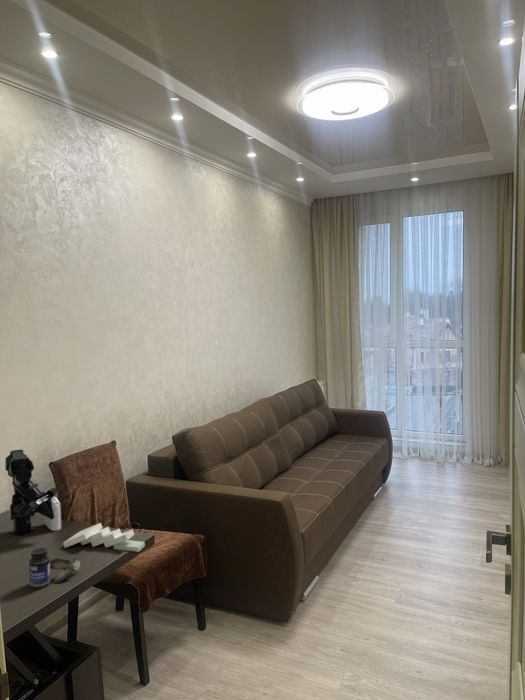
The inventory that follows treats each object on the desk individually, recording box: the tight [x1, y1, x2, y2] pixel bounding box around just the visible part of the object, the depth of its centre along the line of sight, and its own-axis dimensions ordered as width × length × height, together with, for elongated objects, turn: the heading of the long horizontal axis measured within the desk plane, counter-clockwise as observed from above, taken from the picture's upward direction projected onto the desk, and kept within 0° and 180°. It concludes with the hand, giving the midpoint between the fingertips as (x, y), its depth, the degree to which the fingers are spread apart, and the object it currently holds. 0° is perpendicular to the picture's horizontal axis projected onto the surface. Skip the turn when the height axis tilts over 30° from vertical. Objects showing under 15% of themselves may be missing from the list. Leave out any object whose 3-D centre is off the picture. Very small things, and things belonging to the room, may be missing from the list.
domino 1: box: [62, 522, 104, 548], centre depth 200 cm, size 2×11×10 cm
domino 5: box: [113, 539, 146, 553], centre depth 196 cm, size 2×5×10 cm
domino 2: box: [80, 526, 111, 546], centre depth 199 cm, size 2×5×10 cm
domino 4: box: [103, 528, 135, 549], centre depth 197 cm, size 2×5×10 cm
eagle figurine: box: [50, 555, 81, 584], centre depth 174 cm, size 8×7×9 cm
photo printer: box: [44, 496, 62, 532], centre depth 215 cm, size 10×4×12 cm, turn 39°
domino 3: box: [90, 528, 122, 548], centre depth 198 cm, size 2×5×10 cm
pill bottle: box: [28, 547, 51, 590], centre depth 169 cm, size 6×6×11 cm
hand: (53, 518), depth 203 cm, fingers closed
